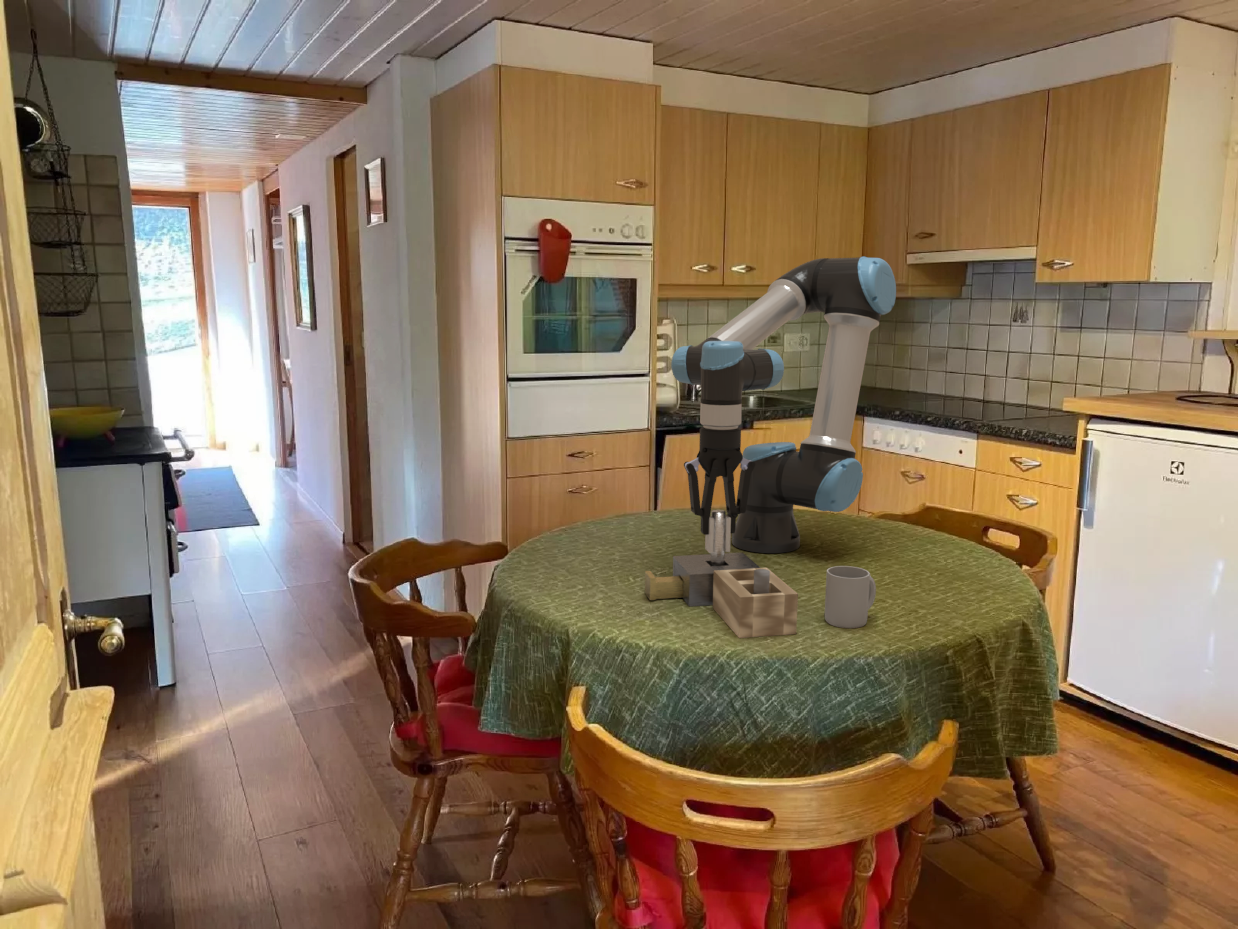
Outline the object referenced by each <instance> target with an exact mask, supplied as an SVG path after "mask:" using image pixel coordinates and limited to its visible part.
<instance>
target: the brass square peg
mask: <svg viewBox="0 0 1238 929" xmlns="http://www.w3.org/2000/svg"><path fill="white" fill-rule="evenodd" d="M644 594H645V595H646V597H647V598H648V599H649V601H655V600H662V599H663V600H664V599H678V598H683V579H682V578H681V576H673V575H671V576H655V575H654V573H653V572H652V571H651V570H645V571H644Z"/></svg>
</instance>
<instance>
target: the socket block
mask: <svg viewBox="0 0 1238 929" xmlns="http://www.w3.org/2000/svg"><path fill="white" fill-rule="evenodd" d="M710 554H711V553H707V554H706V553H705V554H692V555H689V554H688V555H687V554H686V555H673V557H672V576H681V578H682V579H683V597H682V599H683V600H684V602H685V604H687V606H688V607H700V606H713V576H714V571H715V570H733V569H750V568H761V566H759V565H758V564H757V563H756V562H754V560H752V559H751V558H750V557H748V556H747V555H746V554H745V553H744V552H724V566H710Z"/></svg>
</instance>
